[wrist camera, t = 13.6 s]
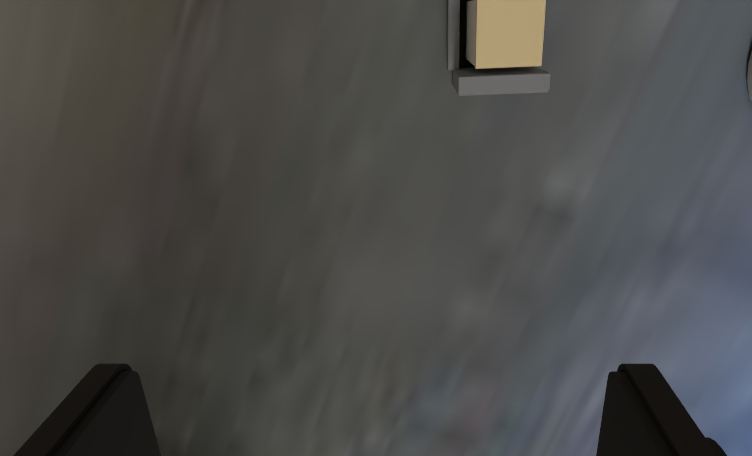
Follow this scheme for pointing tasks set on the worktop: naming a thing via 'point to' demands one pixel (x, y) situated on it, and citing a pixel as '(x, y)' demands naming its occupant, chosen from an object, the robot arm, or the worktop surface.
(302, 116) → the worktop surface
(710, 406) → the worktop surface
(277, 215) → the worktop surface
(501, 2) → the cartridges
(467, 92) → the rail
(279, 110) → the worktop surface
